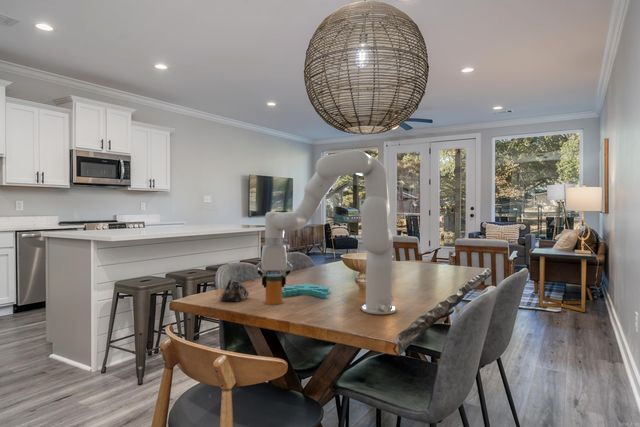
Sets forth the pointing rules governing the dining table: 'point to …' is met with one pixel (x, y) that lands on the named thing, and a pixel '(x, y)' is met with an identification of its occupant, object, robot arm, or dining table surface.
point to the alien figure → (306, 290)
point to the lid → (273, 277)
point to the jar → (273, 292)
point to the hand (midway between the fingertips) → (273, 286)
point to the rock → (234, 291)
